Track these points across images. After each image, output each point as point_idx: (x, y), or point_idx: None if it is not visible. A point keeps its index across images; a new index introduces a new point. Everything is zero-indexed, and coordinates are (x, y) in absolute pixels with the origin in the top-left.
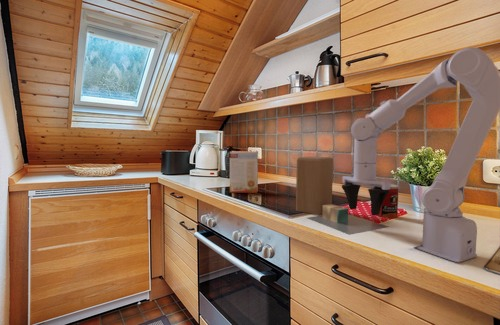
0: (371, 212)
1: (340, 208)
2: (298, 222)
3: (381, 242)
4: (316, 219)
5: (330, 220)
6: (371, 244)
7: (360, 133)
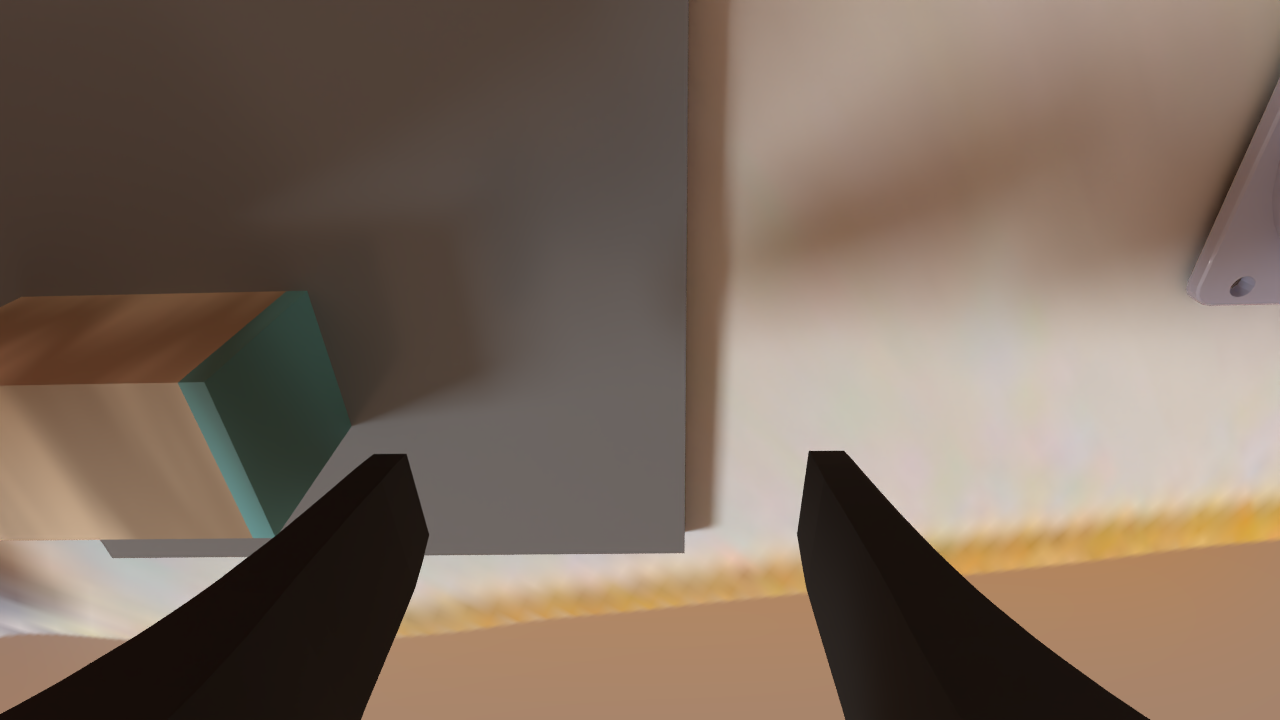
0: (809, 572)
1: (174, 463)
2: None
3: (906, 409)
4: None
5: None
6: None
7: None
